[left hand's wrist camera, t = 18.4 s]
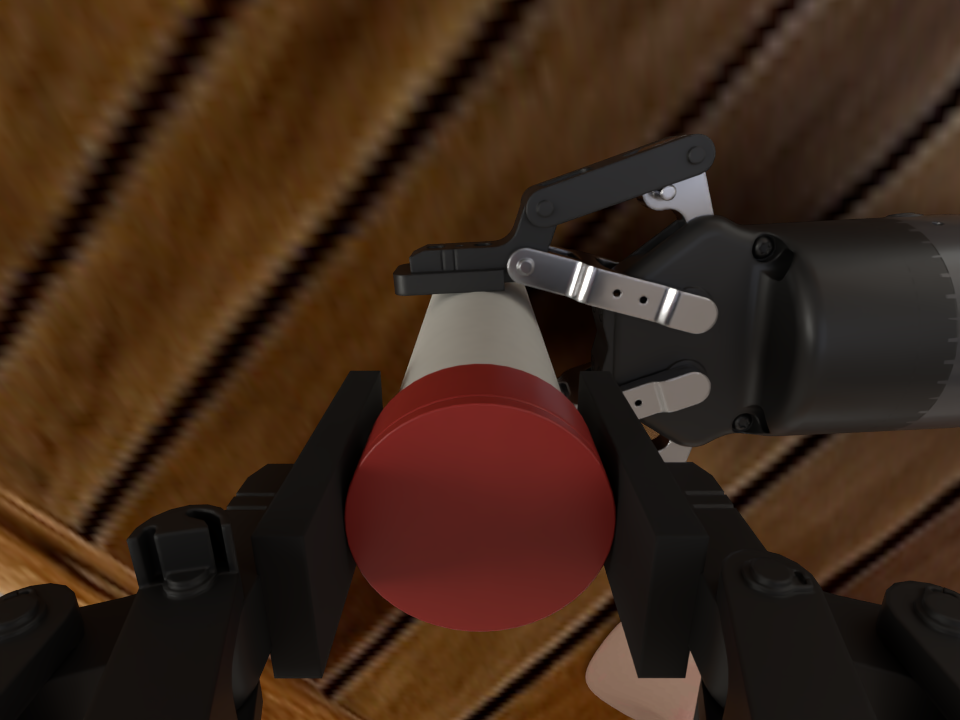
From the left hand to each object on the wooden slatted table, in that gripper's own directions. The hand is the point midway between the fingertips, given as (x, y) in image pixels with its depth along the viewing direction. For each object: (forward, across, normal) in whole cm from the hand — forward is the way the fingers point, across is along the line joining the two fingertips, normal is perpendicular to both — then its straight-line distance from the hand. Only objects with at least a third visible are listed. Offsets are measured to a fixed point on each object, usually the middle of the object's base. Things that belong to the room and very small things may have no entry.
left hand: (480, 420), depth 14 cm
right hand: (+6, -3, 0) cm, 7 cm away
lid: (-4, 0, 0) cm, 4 cm away
